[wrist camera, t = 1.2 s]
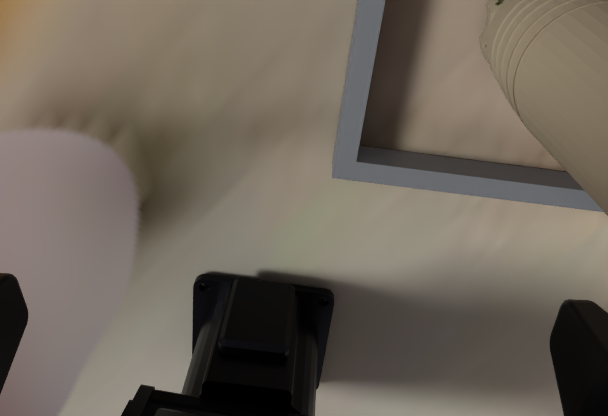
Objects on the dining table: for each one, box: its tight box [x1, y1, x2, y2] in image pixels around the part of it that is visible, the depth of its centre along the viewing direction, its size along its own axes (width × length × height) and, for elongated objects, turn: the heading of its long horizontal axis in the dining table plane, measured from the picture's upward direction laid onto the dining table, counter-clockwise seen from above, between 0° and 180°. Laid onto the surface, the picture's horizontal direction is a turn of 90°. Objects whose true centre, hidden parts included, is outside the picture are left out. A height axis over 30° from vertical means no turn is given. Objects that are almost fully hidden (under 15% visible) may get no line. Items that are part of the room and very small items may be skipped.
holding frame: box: [332, 0, 604, 212], centre depth 19 cm, size 13×12×2 cm
